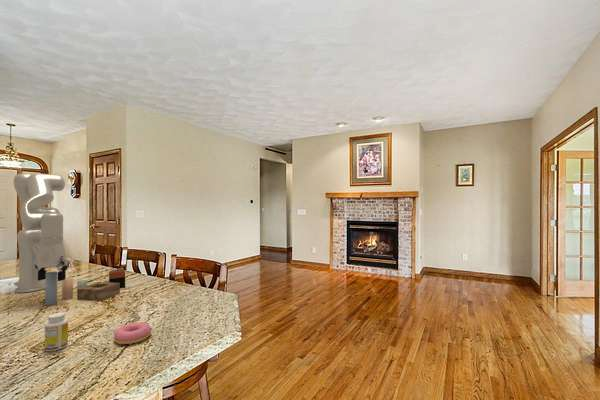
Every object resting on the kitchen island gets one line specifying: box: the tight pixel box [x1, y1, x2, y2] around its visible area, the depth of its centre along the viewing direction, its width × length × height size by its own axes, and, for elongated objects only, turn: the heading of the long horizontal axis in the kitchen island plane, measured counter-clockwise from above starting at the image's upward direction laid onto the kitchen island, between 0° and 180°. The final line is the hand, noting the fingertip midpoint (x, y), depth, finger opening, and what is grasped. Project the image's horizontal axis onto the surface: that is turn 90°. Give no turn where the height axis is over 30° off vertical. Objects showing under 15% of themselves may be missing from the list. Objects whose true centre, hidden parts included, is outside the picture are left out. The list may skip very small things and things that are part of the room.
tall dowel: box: [44, 271, 58, 307], centre depth 129 cm, size 4×4×14 cm
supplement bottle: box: [44, 312, 69, 352], centre depth 91 cm, size 6×6×10 cm
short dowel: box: [76, 279, 88, 290], centre depth 145 cm, size 4×4×6 cm
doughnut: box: [113, 321, 152, 346], centre depth 97 cm, size 11×11×4 cm
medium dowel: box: [61, 277, 74, 301], centre depth 137 cm, size 4×4×9 cm
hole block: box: [76, 281, 121, 302], centre depth 141 cm, size 12×12×5 cm
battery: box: [108, 267, 126, 289], centre depth 155 cm, size 4×7×10 cm, turn 133°
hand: (51, 280), depth 129 cm, fingers open, 9 cm apart
